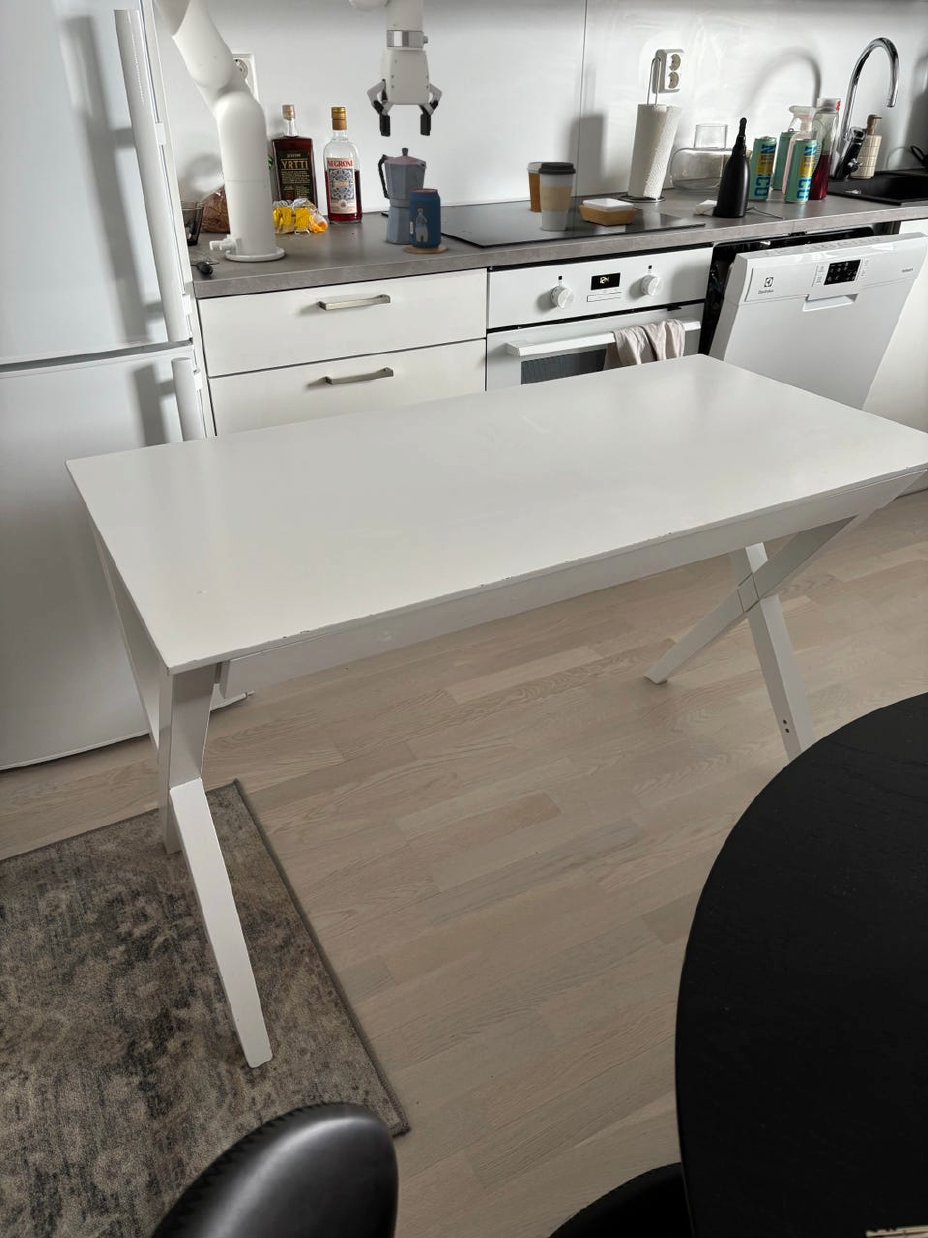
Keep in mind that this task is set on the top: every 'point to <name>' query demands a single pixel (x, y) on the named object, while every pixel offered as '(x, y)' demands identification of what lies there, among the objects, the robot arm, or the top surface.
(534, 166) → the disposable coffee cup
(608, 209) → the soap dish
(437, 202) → the soda can
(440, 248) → the coaster
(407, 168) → the moka pot
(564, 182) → the coffee cup
